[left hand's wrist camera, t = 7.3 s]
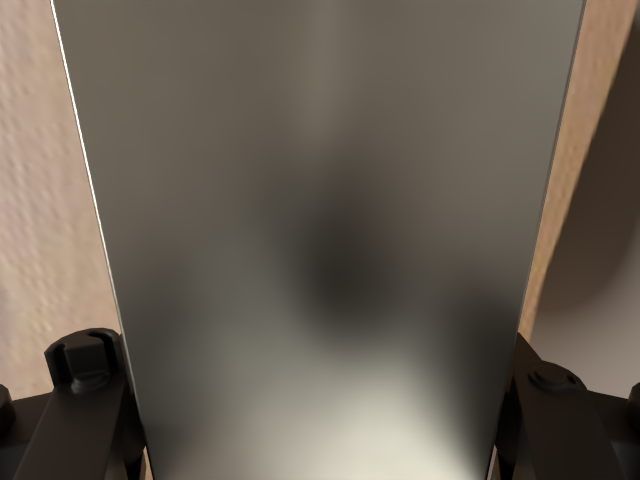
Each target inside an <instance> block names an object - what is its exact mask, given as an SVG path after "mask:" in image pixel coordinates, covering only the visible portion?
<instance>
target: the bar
mask: <svg viewBox="0 0 640 480" xmlns="http://www.w3.org/2000/svg"><path fill="white" fill-rule="evenodd" d="M50 4H51V8H52V13H53V18H54V22H55V27H56V32H57V36H58V41H59V46H60V50H61V55H62V59H63V64H64V69H65V73H66V78H67V83H68V87H69V92H70V97H71V101H72V106H73V110H74V115H75V120H76V124H77V129H78V134H79V138H80V143H81V148H82V152H83V157H84V162H85V166H86V171H87V175H88V180H89V185H90V189H91V194H92V199H93V203H94V208H95V213H96V217H97V222H98V226H99V231H100V236H101V240H102V245H103V250H104V254H105V259H106V264H107V268H108V273H109V278H110V282H111V287H112V291H113V296H114V301H115V305H116V310H117V315H118V319H119V324H120V329H121V333H122V338H123V342H124V347H125V352H126V356H127V361H128V366H129V370H130V375H131V380H132V384H133V389H134V394H135V398H136V403H137V407H138V412H139V417H140V421H141V426H142V431H143V435H144V440H145V445H146V449H147V454H148V458H149V463H150V468H151V472H152V477H153V480H487V477H488V472H489V467H490V462H491V457H492V453H493V448H494V443H495V438H496V434H497V429H498V424H499V419H500V414H501V409H502V405H503V400H504V395H505V390H506V385H507V381H508V376H509V371H510V366H511V361H512V356H513V352H514V347H515V342H516V337H517V332H518V328H519V323H520V318H521V313H522V308H523V304H524V299H525V294H526V289H527V284H528V279H529V275H530V270H531V265H532V260H533V255H534V251H535V246H536V241H537V236H538V231H539V227H540V222H541V217H542V212H543V207H544V202H545V198H546V193H547V188H548V183H549V178H550V174H551V169H552V164H553V159H554V154H555V150H556V145H557V140H558V135H559V130H560V125H561V121H562V116H563V111H564V106H565V101H566V97H567V92H568V87H569V82H570V77H571V73H572V68H573V63H574V58H575V53H576V48H577V44H578V39H579V34H580V29H581V24H582V20H583V15H584V10H585V5H586V0H50Z"/></svg>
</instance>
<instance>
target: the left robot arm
mask: <svg viewBox="0 0 640 480" xmlns="http://www.w3.org/2000/svg"><path fill="white" fill-rule="evenodd" d="M44 354H45V358H46V361H47V365H48V368H49V371H50V375H51V378H52V381H53V385H54V389H53V391H52V392H50V393H46V394H42V395H37V396H32V397H28V398H23V399H18V400H14V401H12V399H11V396H10V394H9V391H8V389H7V388H6V387H4V386H3V385H2V384H0V480H145V474H146V462H145V456H144V451H143V450H144V448H145V446H146V445H145V440H144V435H143V431H142V426H141V421H140V417H139V412H138V407H137V403H136V398H135V394H134V389H133V384H132V380H131V375H130V370H129V366H128V361H127V356H126V352H125V347H124V342H123V338H122V334H120V335H119V334H118V333H116V332H115V331H114V330H112V329H107V328H90V329H86V330H81V331H77V332H74V333H72V334H69V335H67V336H65V337H62V338H61V339H59V340H58V341H56V342H54V343H53V344H51V345H50V346H49V348H48V349H47V350H46V351H45V352H44ZM494 444H495V446H496V448H497V451H496V456H495V461H494V466H493V470H492V475H491V480H640V382H639V383H637V384H636V385H635V386H633V387H632V390H631V393H630V395H629V398H628V399H625V398H620V397H615V396H611V395H606V394H601V393H597V392H593V391H589V390H587V388H586V386H585V385H584V384H583V382H582V381H581V380H580V378H579V377H577V376H576V375H574V374H573V373H572V372H571V371H569V370H567V369H565V368H563V367H561V366H559V365H557V364H554V363H550V362H546V361H543V360H541V358H540V357H539V356H538V355H537V354H536V352H535V351H534V350H533V349H532V347H531V346H530V345H529V344H528V343H527V341H526V340H525V339H524V338H523V336H522V335H521V334H520V333H519V332H517V337H516V342H515V347H514V352H513V356H512V361H511V366H510V371H509V376H508V381H507V385H506V390H505V395H504V400H503V405H502V409H501V414H500V419H499V424H498V429H497V434H496V438H495V443H494Z"/></svg>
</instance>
